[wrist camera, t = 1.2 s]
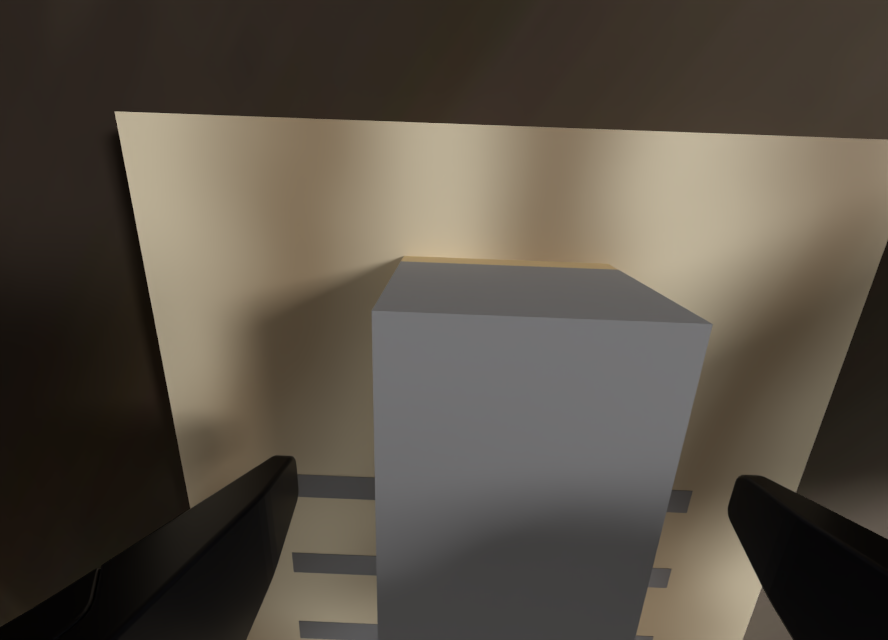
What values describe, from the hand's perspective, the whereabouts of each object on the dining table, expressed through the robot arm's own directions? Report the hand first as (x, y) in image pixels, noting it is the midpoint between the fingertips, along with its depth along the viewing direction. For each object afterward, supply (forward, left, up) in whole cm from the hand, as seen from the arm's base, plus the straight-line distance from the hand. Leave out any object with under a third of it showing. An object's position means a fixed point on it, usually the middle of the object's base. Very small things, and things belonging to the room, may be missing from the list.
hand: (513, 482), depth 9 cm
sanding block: (0, 0, -3) cm, 3 cm away
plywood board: (0, +4, -4) cm, 6 cm away
